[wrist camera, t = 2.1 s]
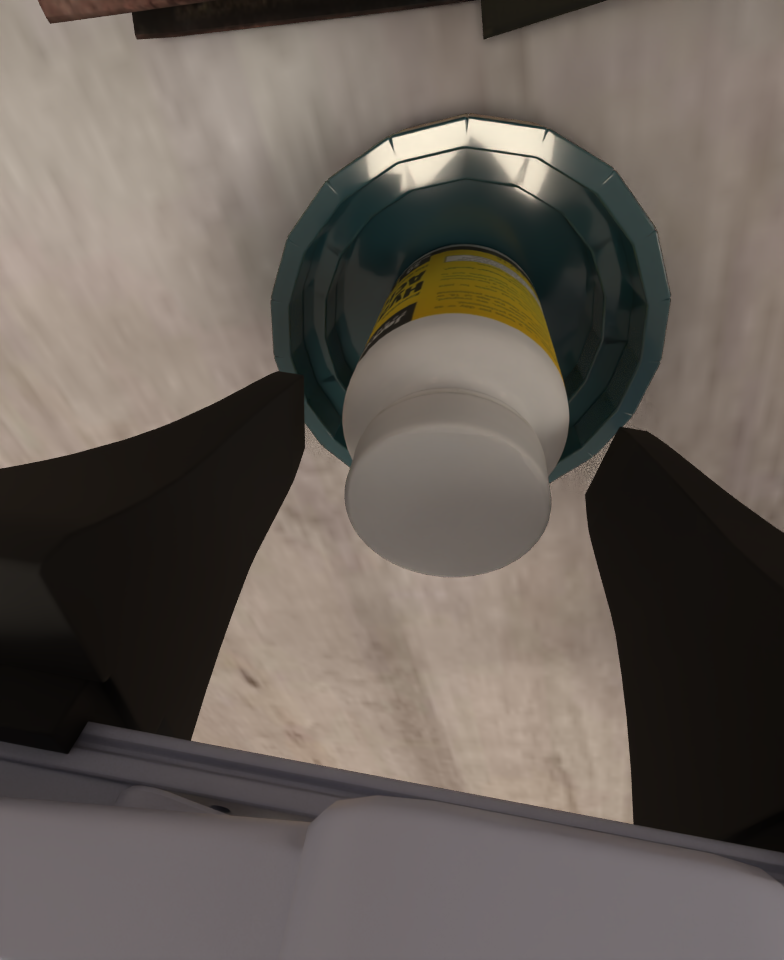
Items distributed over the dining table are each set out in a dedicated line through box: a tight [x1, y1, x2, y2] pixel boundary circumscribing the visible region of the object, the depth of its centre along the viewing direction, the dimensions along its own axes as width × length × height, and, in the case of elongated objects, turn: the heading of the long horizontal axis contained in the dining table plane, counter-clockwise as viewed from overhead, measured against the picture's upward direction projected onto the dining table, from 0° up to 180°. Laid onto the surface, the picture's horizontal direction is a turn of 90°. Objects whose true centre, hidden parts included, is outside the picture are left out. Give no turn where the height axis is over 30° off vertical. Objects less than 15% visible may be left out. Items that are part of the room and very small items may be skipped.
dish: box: [271, 113, 671, 483], centre depth 16 cm, size 12×12×3 cm
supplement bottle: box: [342, 244, 569, 577], centre depth 13 cm, size 5×5×10 cm
